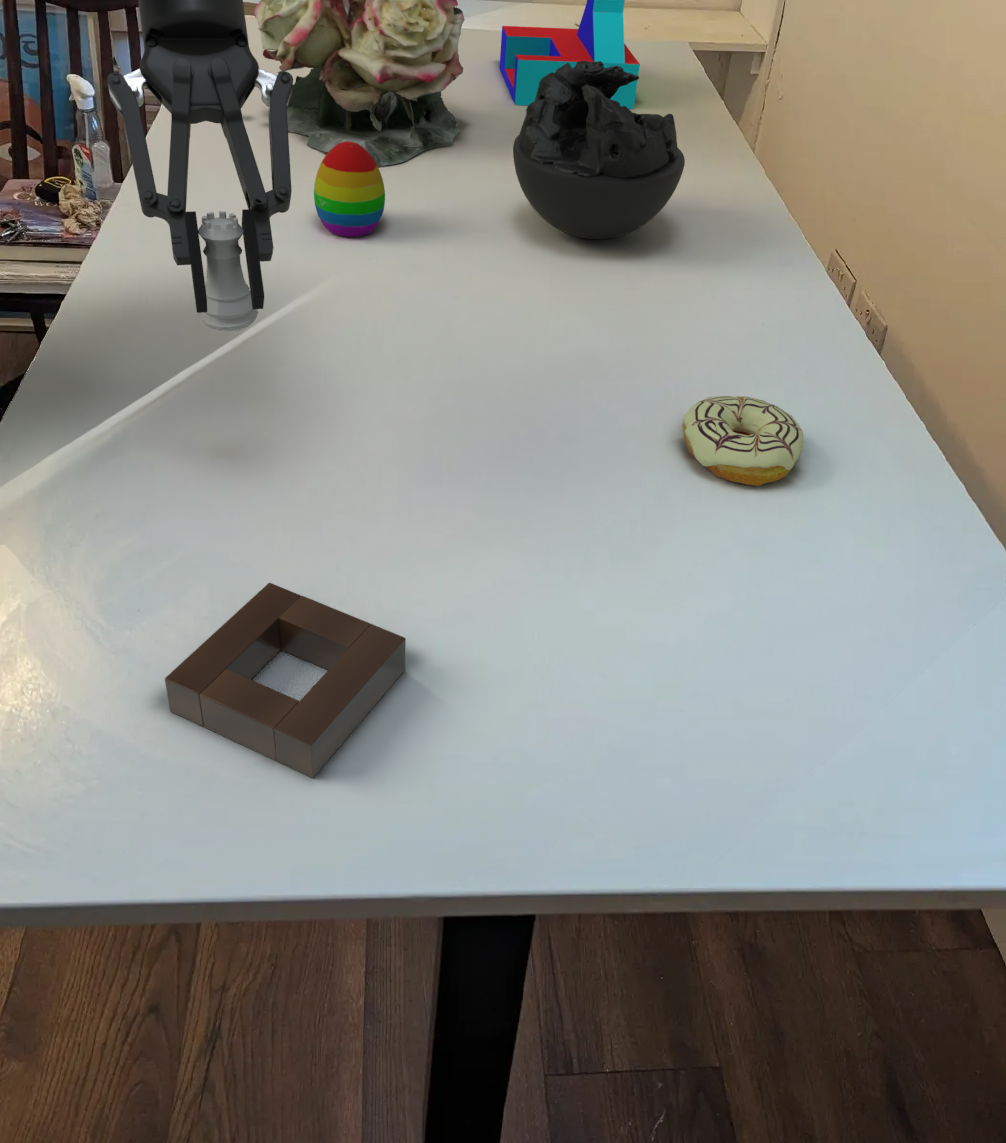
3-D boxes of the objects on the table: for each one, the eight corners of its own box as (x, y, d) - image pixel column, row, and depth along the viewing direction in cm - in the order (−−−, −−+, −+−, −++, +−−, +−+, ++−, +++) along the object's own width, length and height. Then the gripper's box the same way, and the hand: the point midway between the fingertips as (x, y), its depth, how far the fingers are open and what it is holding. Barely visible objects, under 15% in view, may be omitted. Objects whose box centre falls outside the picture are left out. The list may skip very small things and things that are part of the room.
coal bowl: (583, 189, 148) (601, 36, 136) (704, 240, 137) (734, 79, 125) (473, 224, 136) (481, 60, 124) (595, 283, 126) (617, 110, 114)
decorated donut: (688, 487, 96) (695, 450, 93) (672, 420, 104) (678, 385, 102) (808, 493, 96) (819, 456, 94) (783, 426, 105) (792, 391, 102)
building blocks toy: (602, 62, 195) (616, -57, 183) (633, 108, 176) (651, -21, 164) (495, 58, 192) (502, -63, 181) (514, 105, 173) (524, -27, 162)
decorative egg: (325, 245, 129) (322, 157, 122) (307, 217, 134) (304, 132, 128) (393, 239, 131) (394, 153, 125) (373, 212, 137) (373, 128, 131)
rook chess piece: (247, 336, 84) (239, 234, 79) (189, 328, 85) (178, 225, 80) (266, 310, 88) (259, 210, 83) (211, 302, 88) (201, 202, 83)
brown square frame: (169, 711, 72) (163, 678, 70) (271, 614, 80) (269, 581, 78) (313, 778, 69) (311, 745, 67) (405, 670, 76) (405, 637, 75)
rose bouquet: (237, 124, 158) (217, -124, 139) (401, 93, 174) (404, -134, 155) (346, 182, 144) (341, -85, 125) (513, 142, 160) (531, -100, 141)
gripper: (298, 25, 89) (337, 314, 87) (79, 25, 85) (116, 328, 83) (305, -34, 82) (348, 280, 80) (66, -38, 77) (106, 293, 76)
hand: (230, 304), depth 81 cm, fingers closed on rook chess piece, 3 cm apart
